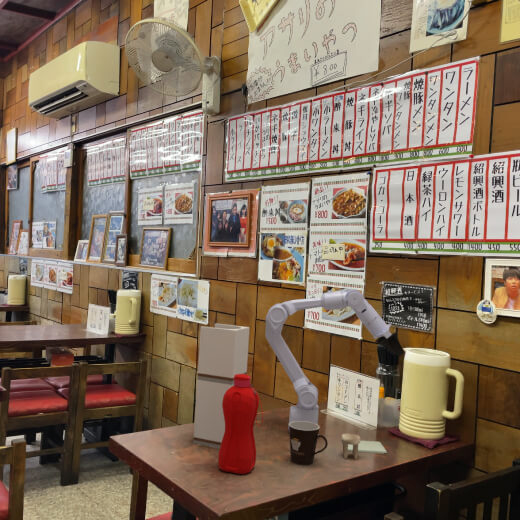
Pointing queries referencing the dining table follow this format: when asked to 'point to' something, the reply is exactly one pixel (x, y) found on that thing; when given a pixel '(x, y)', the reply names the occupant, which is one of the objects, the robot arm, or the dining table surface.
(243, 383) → the water bottle
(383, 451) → the rubber mat
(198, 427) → the grey tall box
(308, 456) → the coffee mug
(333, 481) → the dining table surface
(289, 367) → the robot arm
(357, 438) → the wooden stool
